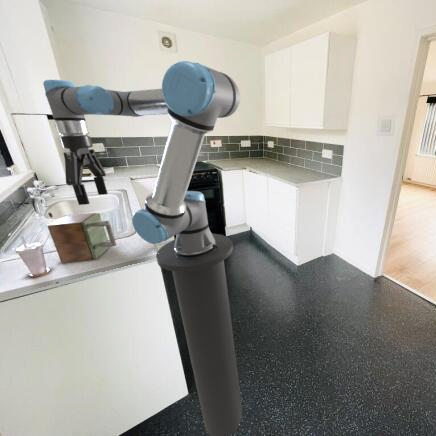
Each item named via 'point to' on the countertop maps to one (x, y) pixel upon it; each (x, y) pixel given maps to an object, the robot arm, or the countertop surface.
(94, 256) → the door
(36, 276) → the coaster
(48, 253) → the countertop surface
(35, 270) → the smoothie
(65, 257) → the cabinet
